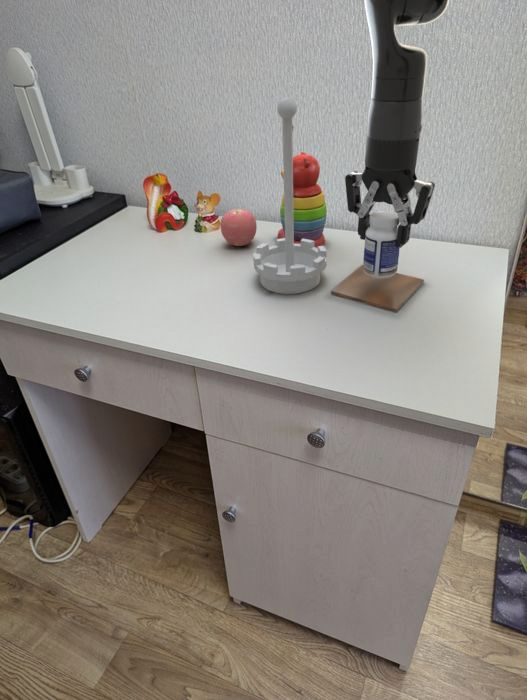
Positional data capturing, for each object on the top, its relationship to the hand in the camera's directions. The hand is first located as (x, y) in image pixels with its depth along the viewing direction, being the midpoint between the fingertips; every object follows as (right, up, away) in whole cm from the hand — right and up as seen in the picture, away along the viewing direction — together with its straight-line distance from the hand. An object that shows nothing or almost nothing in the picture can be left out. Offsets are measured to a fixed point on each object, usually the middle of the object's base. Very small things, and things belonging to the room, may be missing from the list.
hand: (382, 241), depth 81 cm
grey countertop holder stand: (-15, -5, +9) cm, 18 cm away
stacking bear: (-12, +5, +23) cm, 26 cm away
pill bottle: (0, -5, +3) cm, 6 cm away
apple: (-25, +4, +24) cm, 34 cm away
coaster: (0, -7, +5) cm, 9 cm away
